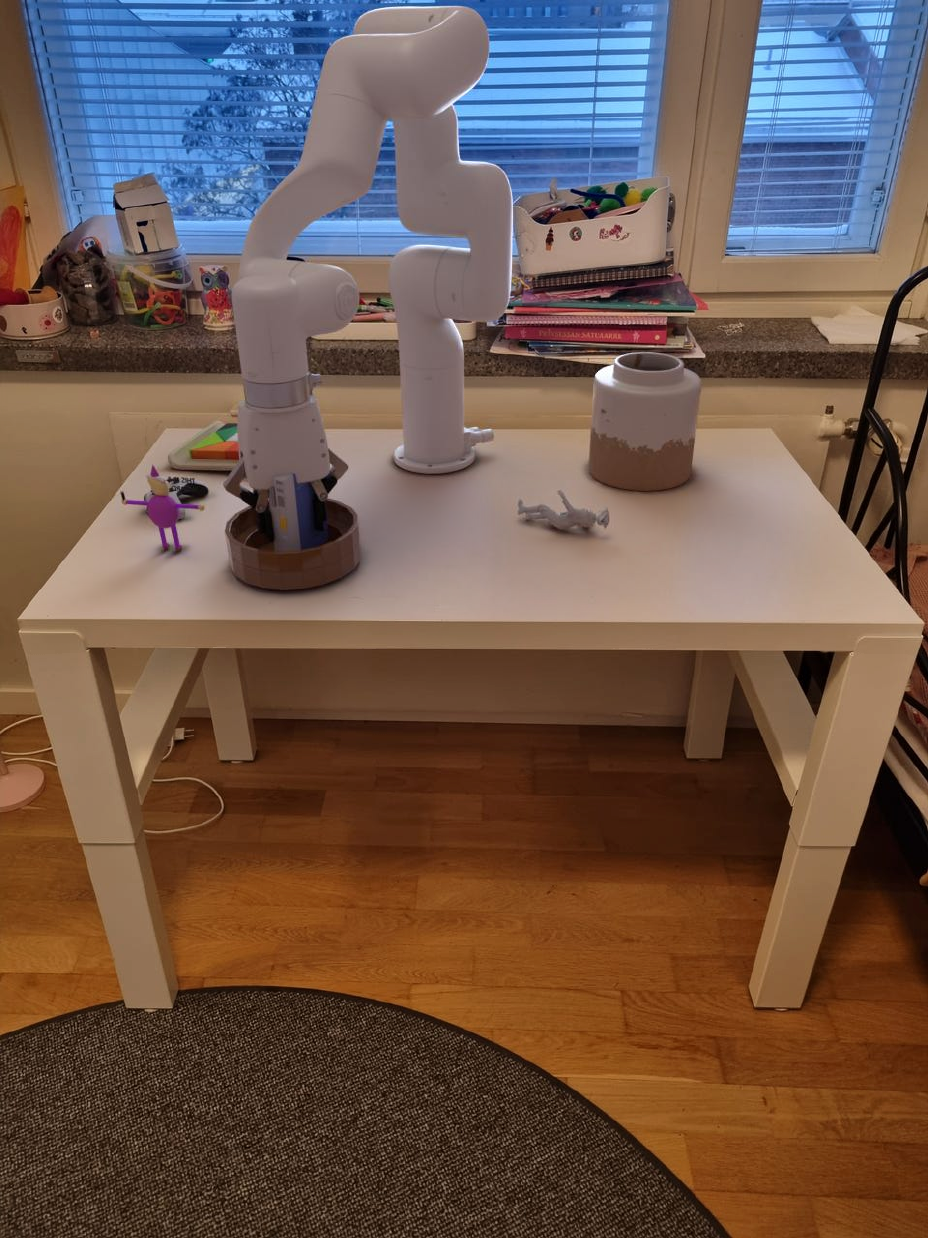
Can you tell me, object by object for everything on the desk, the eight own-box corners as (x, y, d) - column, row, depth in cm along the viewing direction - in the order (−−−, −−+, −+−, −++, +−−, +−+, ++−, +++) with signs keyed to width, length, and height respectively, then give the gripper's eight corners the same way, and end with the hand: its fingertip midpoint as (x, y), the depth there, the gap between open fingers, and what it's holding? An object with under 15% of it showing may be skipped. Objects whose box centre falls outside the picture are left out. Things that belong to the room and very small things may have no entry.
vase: (672, 499, 137) (685, 384, 128) (572, 480, 143) (578, 368, 135) (703, 462, 149) (716, 354, 140) (609, 446, 155) (617, 341, 146)
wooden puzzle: (220, 430, 163) (217, 409, 161) (323, 440, 159) (321, 419, 157) (166, 469, 149) (162, 447, 147) (278, 481, 144) (275, 459, 143)
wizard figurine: (216, 549, 126) (202, 462, 119) (206, 560, 123) (191, 472, 117) (136, 542, 128) (118, 456, 121) (124, 553, 125) (105, 466, 119)
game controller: (185, 515, 132) (150, 485, 131) (164, 538, 135) (130, 508, 133) (213, 487, 140) (181, 458, 139) (193, 509, 143) (161, 481, 141)
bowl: (338, 524, 131) (334, 487, 129) (378, 576, 119) (376, 536, 116) (219, 548, 126) (212, 509, 123) (248, 605, 113) (242, 564, 110)
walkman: (311, 534, 126) (303, 448, 119) (329, 539, 125) (322, 453, 118) (273, 561, 120) (263, 473, 113) (291, 567, 119) (282, 478, 112)
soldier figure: (535, 516, 135) (617, 502, 130) (535, 548, 134) (618, 535, 129) (512, 494, 129) (598, 478, 123) (512, 528, 127) (598, 513, 122)
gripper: (338, 371, 117) (349, 507, 126) (195, 391, 111) (218, 533, 120) (359, 388, 111) (368, 530, 120) (208, 410, 105) (231, 558, 114)
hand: (293, 530), depth 120 cm, fingers closed on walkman, 5 cm apart
